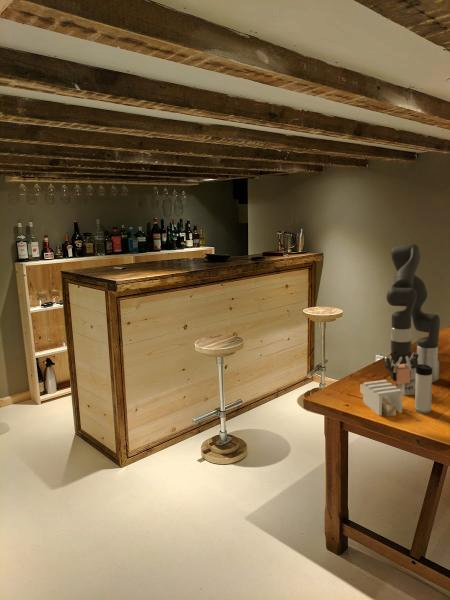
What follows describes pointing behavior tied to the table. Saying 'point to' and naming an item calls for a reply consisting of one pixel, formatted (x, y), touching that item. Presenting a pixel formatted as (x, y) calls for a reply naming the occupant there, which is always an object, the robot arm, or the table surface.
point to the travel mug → (423, 388)
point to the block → (403, 374)
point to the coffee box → (409, 387)
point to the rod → (384, 405)
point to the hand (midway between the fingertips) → (400, 379)
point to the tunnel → (377, 390)
